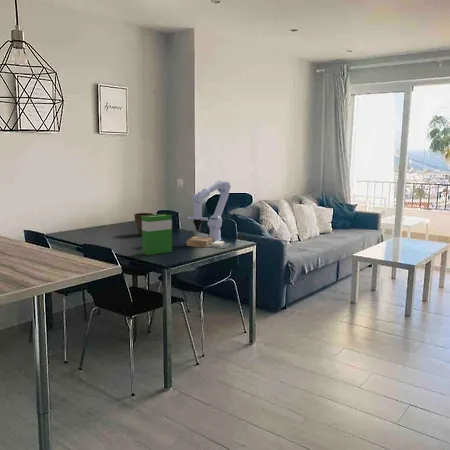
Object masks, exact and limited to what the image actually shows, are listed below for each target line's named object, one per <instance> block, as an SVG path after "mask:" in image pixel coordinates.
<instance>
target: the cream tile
mask: <svg viewBox="0 0 450 450" xmlns="http://www.w3.org/2000/svg"><path fill="white" fill-rule="evenodd" d="M224 243H225V241H224V240H220V241H213V243H212V246H217V247H221V246H222V245H224Z"/></svg>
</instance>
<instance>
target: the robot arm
mask: <svg viewBox="0 0 450 450" xmlns="http://www.w3.org/2000/svg"><path fill="white" fill-rule="evenodd" d="M231 187H232V186H231V183H230V182H229V181H222V180H218V181H216V182H215V183H214V184H212V185H211V186H210V187H208V188H202V190H201V191H198V192H197V193H194V194H193V195H192V197H191V201H192V204H193V216H187V220H190V221H192V223H193V225H194V226H195V231H200V226H201V224H202V222H203V221H207V227H208V229H209V237H213V242H215V241H223V240H222V239H223V238H222V237H221V234H222V233H221V231H222V230H221V228H222V226H223V218H222V215H223V213H224V209H225V206H226V203H227V201H228V199H229V196H230V189H231ZM215 191H218V193H219V194H220V196H219V200H218V201H217V205H216V207H215V210H214V213H213V215H211V216H210V217H206V216H205V217H204V216H202V215H203V210H202V209H203V207H202V206H203V205H202V204H203V202H204V200H205V199H207V198H208V197H210V195H211V193H212V192H215Z"/></svg>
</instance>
